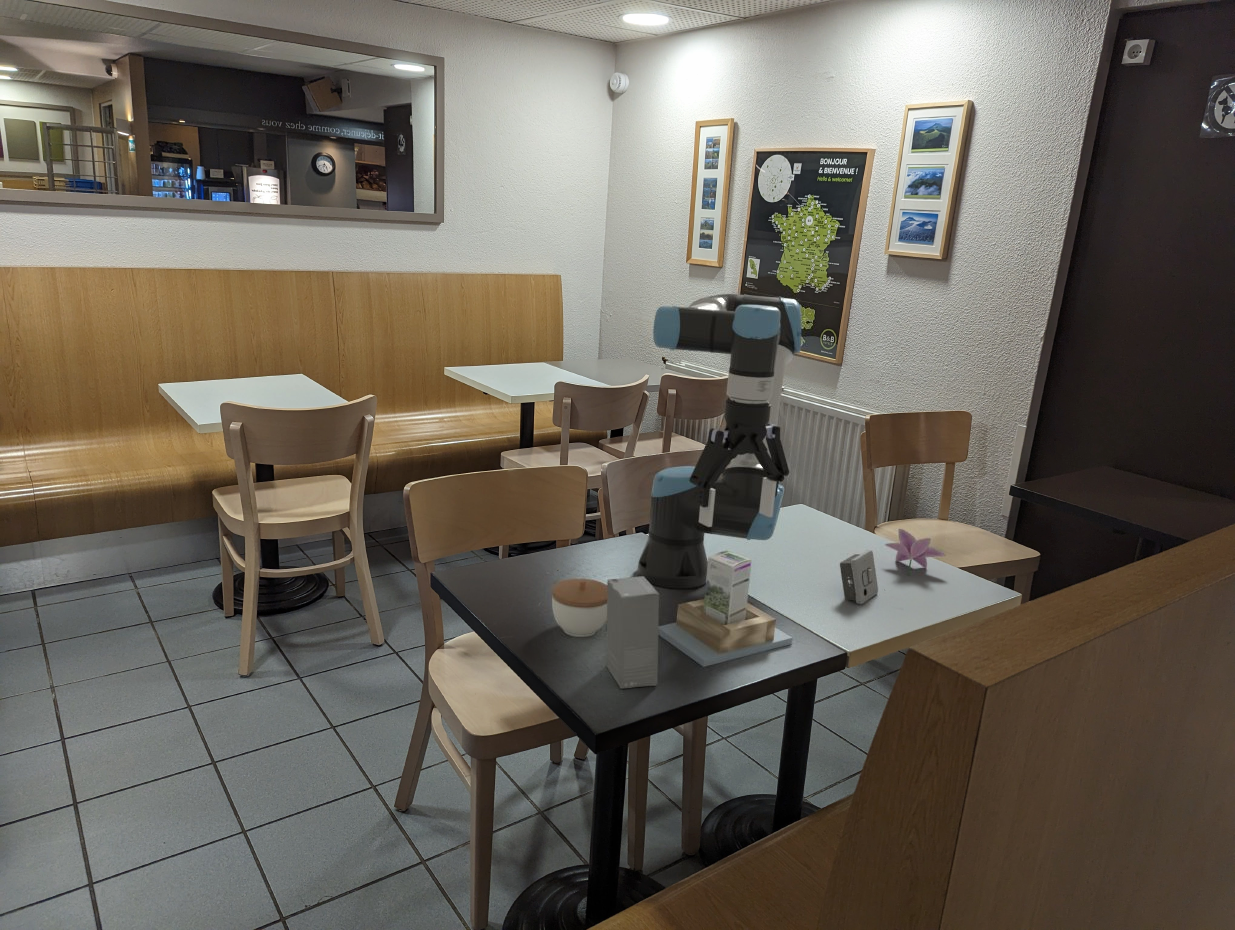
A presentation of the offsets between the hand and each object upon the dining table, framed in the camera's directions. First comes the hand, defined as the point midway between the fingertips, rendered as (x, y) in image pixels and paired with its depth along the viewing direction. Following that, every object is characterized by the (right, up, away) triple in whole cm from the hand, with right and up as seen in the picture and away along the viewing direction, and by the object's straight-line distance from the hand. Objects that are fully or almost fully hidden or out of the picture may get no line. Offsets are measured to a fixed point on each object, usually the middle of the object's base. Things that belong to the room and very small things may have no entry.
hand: (736, 519), depth 149 cm
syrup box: (-2, -21, +5) cm, 22 cm away
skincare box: (-19, -25, -10) cm, 33 cm away
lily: (+46, -15, +46) cm, 67 cm away
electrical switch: (+29, -18, +29) cm, 45 cm away
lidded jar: (-27, -20, +5) cm, 35 cm away
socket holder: (-1, -22, +5) cm, 23 cm away
